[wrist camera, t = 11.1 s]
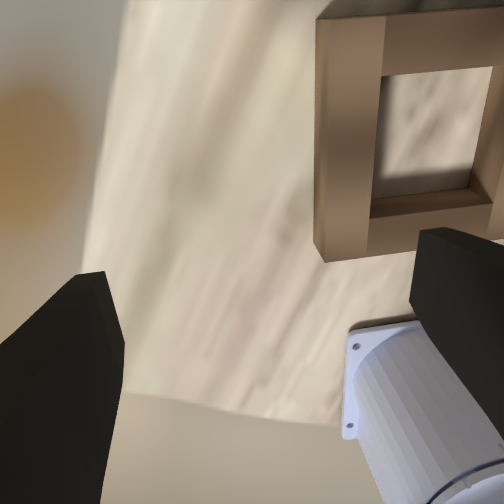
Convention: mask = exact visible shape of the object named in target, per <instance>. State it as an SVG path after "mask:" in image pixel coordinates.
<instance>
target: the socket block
mask: <svg viewBox="0 0 504 504" xmlns="http://www.w3.org/2000/svg"><path fill="white" fill-rule="evenodd" d="M488 66H493V70H492V74H491V79H490V84H489V89H488V94H487V99H486V104H485V109H484V114H483V118H482V123H481V128H480V133H479V138H478V143H477V148H476V153H475V158H474V162H473V167H472V172H471V177H470V182H469V187H468V188H464V189H456V190H447V191H439V192H431V193H423V194H414V195H406V196H398V197H390V198H381V199H373V200H371V192H372V180H373V168H374V156H375V144H376V132H377V120H378V108H379V96H380V84H381V76H390V75H401V74H412V73H423V72H434V71H445V70H455V69H466V68H477V67H488ZM440 227H447V228H452V229H456V230H459V231H463V232H466V233H469V234H472V235H475V236H478V237H481V238H484V239H486V240H489V241H490V240H498V239H504V5H494V6H481V7H469V8H456V9H443V10H430V11H417V12H404V13H391V14H378V15H365V16H352V17H339V18H326V19H316V48H315V139H314V230H313V243H314V245H315V246H316V248H317V250H318V252H319V253H320V255H321V257H322V258H323V260H324V262H325V263H327V262H334V261H342V260H349V259H357V258H364V257H372V256H379V255H386V254H394V253H401V252H409V251H416V250H417V245H418V238H419V232H420V230H424V229H432V228H440Z"/></svg>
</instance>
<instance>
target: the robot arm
mask: <svg viewBox="0 0 504 504" xmlns="http://www.w3.org/2000/svg"><path fill="white" fill-rule="evenodd" d="M409 302H410V304H411V306H412V308H413V310H414V312H415V314H416V316H417V318H418V320H416V321H409V322H403V323H396V324H390V325H383V326H377V327H370V328H363V329H357V330H353V331H351V332H349V334H348V335H347V341H346V357H345V372H344V388H343V403H342V419H341V435H342V438H344V439H346V440H349V439H355V438H357V439H358V441H359V443H360V446H361V448H362V451H363V453H364V455H365V458H366V460H367V463H368V465H369V467H370V470H371V472H372V474H373V477H374V479H375V482H376V484H377V486H378V489H379V491H380V493H381V496H382V498H383V501H384V503H385V504H504V246H503V245H500V244H498V243H495V242H492V241H489V240H486V239H484V238H481V237H478V236H475V235H472V234H469V233H466V232H463V231H459V230H456V229H452V228H447V227H440V228H432V229H424V230H420V232H419V238H418V245H417V252H416V258H415V265H414V271H413V278H412V285H411V291H410V298H409ZM356 343H358V344H356ZM354 344H356V345H354ZM353 345H354V346H353ZM124 349H125V342H124V338H123V335H122V331H121V328H120V324H119V320H118V317H117V313H116V310H115V306H114V303H113V299H112V296H111V292H110V288H109V285H108V281H107V278H106V274H105V271H101V272H93V273H86V274H78V275H75V276H74V277H73V278H71V279H70V280H69V281H68V282H67V283H66V284H65V285H63V286H62V287H61V288H60V289H59V290H58V291H57V292H56V293H55V294H54V295H53V296H52V297H51V298H50V299H49V300H48V301H47V302H46V303H45V304H44V305H43V306H41V308H39V309H38V310H37V311H36V312H35V313H34V314H33V315H32V316H31V317H30V318H29V319H28V320H27V321H26V322H24V323H23V324H22V325H21V326H20V327H19V328H18V329H17V330H16V331H15V332H14V333H13V334H11V335H10V336H9V337H8V338H7V339H6V340H5V341H3V342H2V343H1V344H0V504H100V499H101V493H102V487H103V481H104V476H105V471H106V466H107V460H108V455H109V450H110V445H111V440H112V435H113V430H114V425H115V419H116V415H117V410H118V404H119V399H120V394H121V388H122V382H123V368H124Z"/></svg>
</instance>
